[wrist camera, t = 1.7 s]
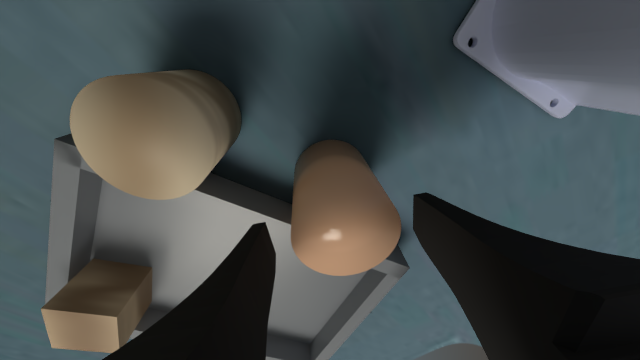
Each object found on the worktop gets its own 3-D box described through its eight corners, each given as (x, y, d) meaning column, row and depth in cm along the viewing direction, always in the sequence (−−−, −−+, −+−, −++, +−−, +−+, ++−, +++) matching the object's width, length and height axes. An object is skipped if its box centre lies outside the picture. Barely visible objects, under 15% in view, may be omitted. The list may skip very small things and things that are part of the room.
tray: (398, 245, 20) (409, 267, 18) (314, 347, 26) (315, 373, 23) (92, 126, 14) (54, 138, 12) (71, 293, 20) (44, 321, 18)
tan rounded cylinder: (379, 158, 16) (423, 213, 11) (343, 214, 18) (363, 286, 12) (314, 126, 15) (323, 168, 9) (282, 189, 17) (273, 257, 11)
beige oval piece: (253, 96, 14) (227, 115, 9) (226, 167, 16) (193, 215, 11) (162, 51, 13) (75, 45, 8) (144, 134, 15) (65, 172, 10)
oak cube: (152, 267, 18) (116, 317, 15) (151, 301, 20) (119, 353, 17) (93, 258, 18) (40, 308, 14) (97, 294, 19) (51, 347, 16)
